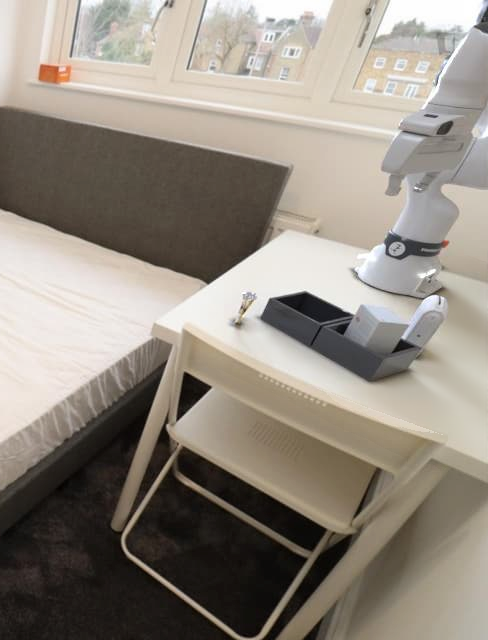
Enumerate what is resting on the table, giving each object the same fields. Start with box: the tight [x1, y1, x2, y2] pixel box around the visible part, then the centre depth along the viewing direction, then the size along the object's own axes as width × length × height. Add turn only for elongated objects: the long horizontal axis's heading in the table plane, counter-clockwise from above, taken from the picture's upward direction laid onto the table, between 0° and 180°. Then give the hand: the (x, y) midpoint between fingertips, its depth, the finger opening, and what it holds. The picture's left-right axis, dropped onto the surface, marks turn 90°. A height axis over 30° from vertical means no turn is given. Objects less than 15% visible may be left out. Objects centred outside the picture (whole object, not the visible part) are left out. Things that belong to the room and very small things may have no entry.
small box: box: [343, 303, 409, 356], centre depth 107 cm, size 8×6×10 cm
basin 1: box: [259, 290, 355, 347], centre depth 118 cm, size 13×13×6 cm
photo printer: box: [401, 294, 449, 358], centre depth 111 cm, size 10×4×12 cm, turn 140°
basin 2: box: [310, 319, 422, 382], centre depth 108 cm, size 13×13×6 cm
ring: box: [234, 290, 258, 324], centre depth 118 cm, size 7×3×8 cm, turn 139°
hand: (404, 193), depth 105 cm, fingers open, 8 cm apart
